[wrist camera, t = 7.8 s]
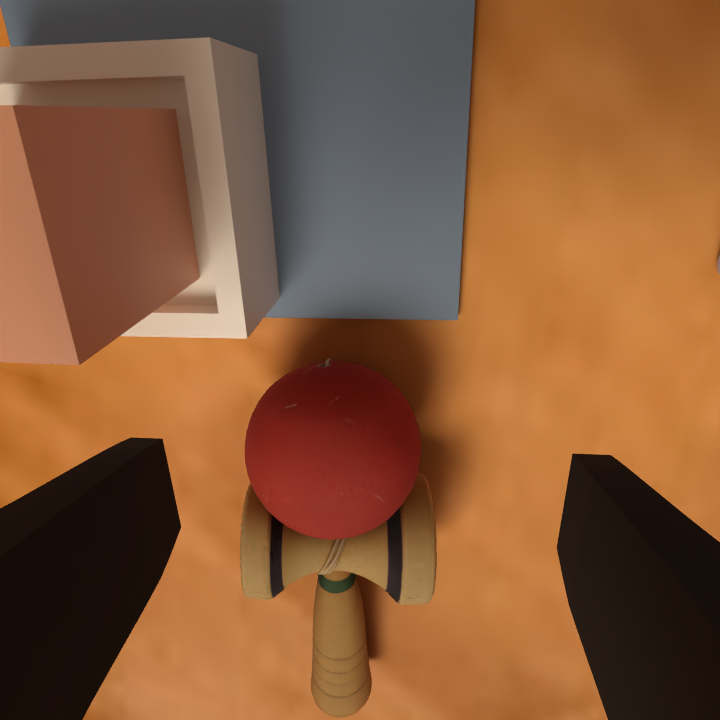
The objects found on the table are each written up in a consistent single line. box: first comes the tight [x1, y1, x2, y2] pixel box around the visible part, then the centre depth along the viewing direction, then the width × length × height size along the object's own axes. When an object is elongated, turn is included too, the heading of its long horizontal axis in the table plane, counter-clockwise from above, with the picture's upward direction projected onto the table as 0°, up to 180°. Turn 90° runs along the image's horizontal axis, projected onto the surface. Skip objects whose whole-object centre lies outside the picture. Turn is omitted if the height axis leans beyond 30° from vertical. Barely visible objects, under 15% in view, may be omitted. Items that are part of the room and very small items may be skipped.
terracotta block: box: [0, 105, 200, 365], centre depth 12 cm, size 4×4×6 cm
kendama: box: [240, 358, 437, 718], centre depth 21 cm, size 8×6×18 cm
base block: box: [0, 37, 280, 338], centre depth 16 cm, size 8×8×4 cm
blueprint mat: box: [0, 0, 475, 320], centre depth 16 cm, size 14×17×1 cm
